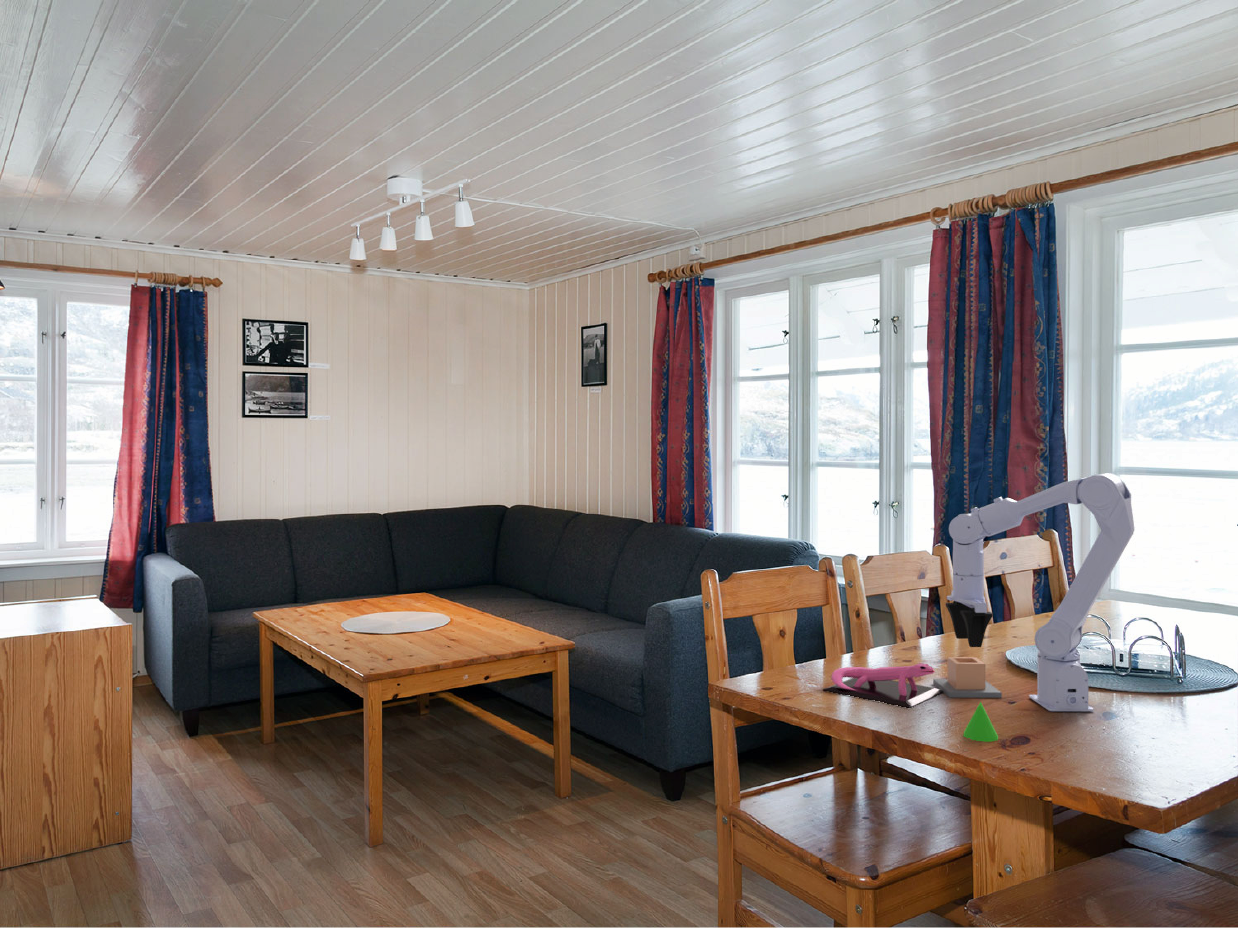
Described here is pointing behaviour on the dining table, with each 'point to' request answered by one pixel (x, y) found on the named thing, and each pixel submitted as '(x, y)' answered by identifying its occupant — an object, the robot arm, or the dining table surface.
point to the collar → (966, 672)
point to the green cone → (980, 727)
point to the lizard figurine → (885, 684)
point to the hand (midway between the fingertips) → (968, 642)
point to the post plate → (967, 690)
